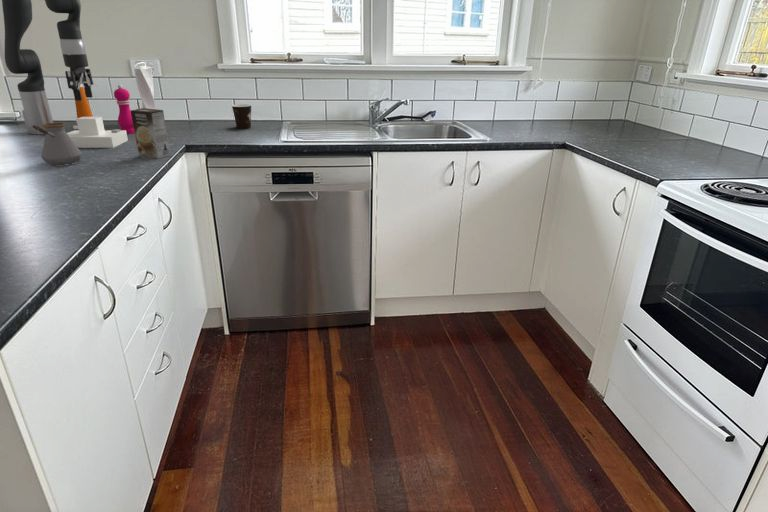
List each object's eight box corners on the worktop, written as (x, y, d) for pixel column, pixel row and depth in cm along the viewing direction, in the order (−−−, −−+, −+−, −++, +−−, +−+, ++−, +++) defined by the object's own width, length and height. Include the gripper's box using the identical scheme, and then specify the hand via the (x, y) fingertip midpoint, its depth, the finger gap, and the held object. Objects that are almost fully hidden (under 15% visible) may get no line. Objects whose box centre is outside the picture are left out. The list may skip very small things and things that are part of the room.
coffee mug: (245, 125, 237) (242, 103, 233) (257, 127, 232) (255, 105, 228) (225, 128, 228) (222, 106, 224) (237, 130, 224) (234, 108, 220)
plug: (73, 140, 190) (67, 118, 187) (79, 137, 195) (75, 116, 192) (99, 140, 191) (95, 119, 188) (106, 137, 196) (101, 116, 193)
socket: (58, 147, 187) (55, 134, 185) (76, 140, 200) (74, 128, 198) (113, 147, 188) (110, 134, 186) (128, 140, 201) (125, 128, 199)
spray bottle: (108, 132, 217) (94, 68, 206) (80, 134, 211) (64, 68, 200) (105, 129, 222) (92, 67, 211) (78, 131, 217) (63, 67, 206)
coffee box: (137, 156, 176) (128, 110, 169) (151, 153, 181) (142, 107, 175) (158, 159, 173) (150, 111, 166) (171, 155, 179) (163, 109, 172)
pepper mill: (133, 134, 213) (124, 85, 205) (116, 134, 213) (106, 85, 205) (141, 131, 219) (132, 83, 211) (125, 131, 219) (115, 83, 211)
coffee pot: (51, 160, 170) (39, 115, 163) (88, 158, 172) (77, 114, 166) (24, 176, 151) (10, 126, 144) (66, 174, 153) (54, 125, 147)
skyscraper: (145, 124, 237) (134, 62, 226) (163, 124, 238) (152, 62, 226) (139, 127, 229) (127, 63, 218) (157, 127, 230) (146, 63, 219)
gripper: (73, 51, 186) (82, 96, 193) (52, 53, 173) (64, 101, 180) (93, 52, 187) (102, 96, 194) (75, 54, 174) (85, 101, 181)
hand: (84, 98), depth 187 cm, fingers open, 8 cm apart
